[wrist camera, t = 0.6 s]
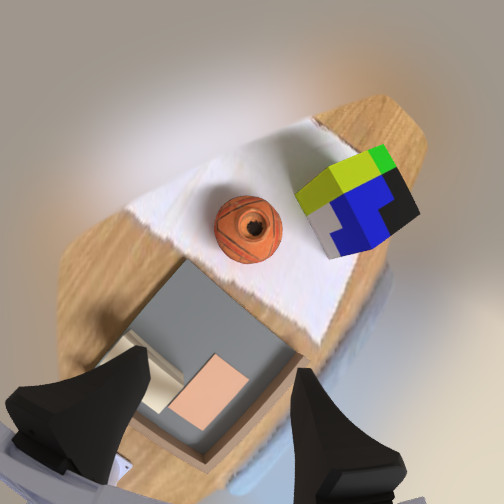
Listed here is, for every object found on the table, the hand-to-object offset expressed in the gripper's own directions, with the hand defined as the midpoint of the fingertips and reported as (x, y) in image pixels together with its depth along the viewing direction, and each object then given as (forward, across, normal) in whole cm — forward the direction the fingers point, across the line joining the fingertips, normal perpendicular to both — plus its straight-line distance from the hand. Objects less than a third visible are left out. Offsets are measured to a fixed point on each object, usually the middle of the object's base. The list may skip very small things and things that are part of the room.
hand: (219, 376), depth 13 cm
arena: (+17, +6, +14) cm, 22 cm away
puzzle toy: (+31, -11, -5) cm, 33 cm away
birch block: (+15, +11, +13) cm, 22 cm away
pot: (+25, +2, -1) cm, 25 cm away
